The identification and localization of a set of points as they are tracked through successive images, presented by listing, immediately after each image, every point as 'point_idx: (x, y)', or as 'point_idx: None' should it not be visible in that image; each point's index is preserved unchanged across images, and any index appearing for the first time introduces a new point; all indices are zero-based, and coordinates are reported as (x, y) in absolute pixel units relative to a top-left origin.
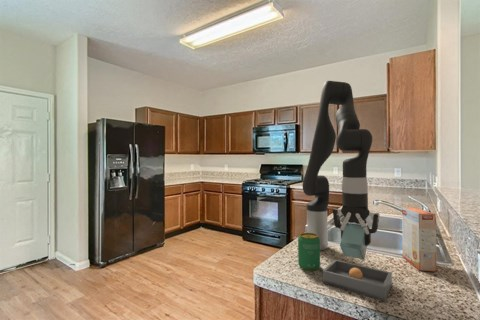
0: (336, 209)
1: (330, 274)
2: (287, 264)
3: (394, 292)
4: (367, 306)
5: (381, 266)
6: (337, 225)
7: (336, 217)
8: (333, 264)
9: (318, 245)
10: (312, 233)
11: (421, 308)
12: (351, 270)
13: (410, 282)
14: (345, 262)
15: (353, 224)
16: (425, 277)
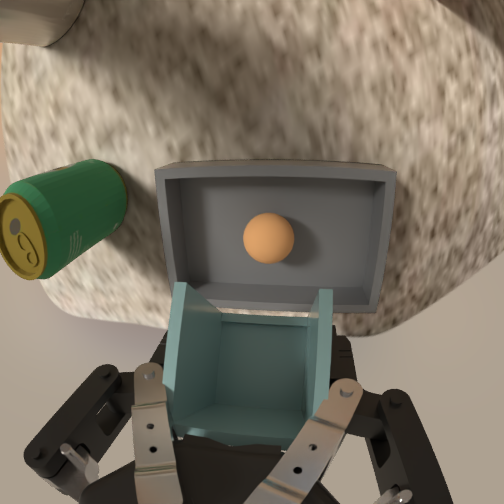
0: (55, 485)
1: None
2: None
3: None
4: None
5: (314, 6)
6: (127, 414)
7: (98, 456)
8: (170, 218)
9: (74, 230)
10: (8, 197)
11: (443, 270)
12: (254, 257)
13: (428, 106)
14: (201, 172)
15: (225, 442)
16: (456, 42)
